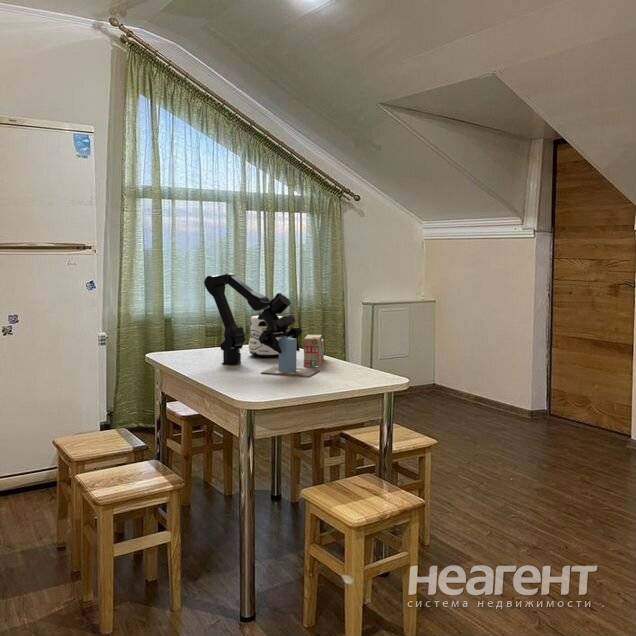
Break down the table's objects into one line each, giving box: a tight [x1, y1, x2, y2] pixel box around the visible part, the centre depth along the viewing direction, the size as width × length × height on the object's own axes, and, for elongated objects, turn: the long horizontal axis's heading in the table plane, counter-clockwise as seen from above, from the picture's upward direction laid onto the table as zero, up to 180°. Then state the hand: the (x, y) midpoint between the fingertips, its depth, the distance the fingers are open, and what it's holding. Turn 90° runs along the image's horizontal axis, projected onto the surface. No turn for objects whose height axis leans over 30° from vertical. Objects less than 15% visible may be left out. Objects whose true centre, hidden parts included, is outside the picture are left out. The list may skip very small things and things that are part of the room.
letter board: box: [260, 366, 321, 378], centre depth 258 cm, size 20×14×1 cm
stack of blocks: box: [303, 334, 325, 368], centre depth 281 cm, size 21×6×12 cm, turn 173°
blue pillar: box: [278, 337, 298, 373], centre depth 257 cm, size 5×5×13 cm
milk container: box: [248, 315, 286, 358], centre depth 298 cm, size 17×17×18 cm
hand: (290, 351), depth 256 cm, fingers open, 9 cm apart
